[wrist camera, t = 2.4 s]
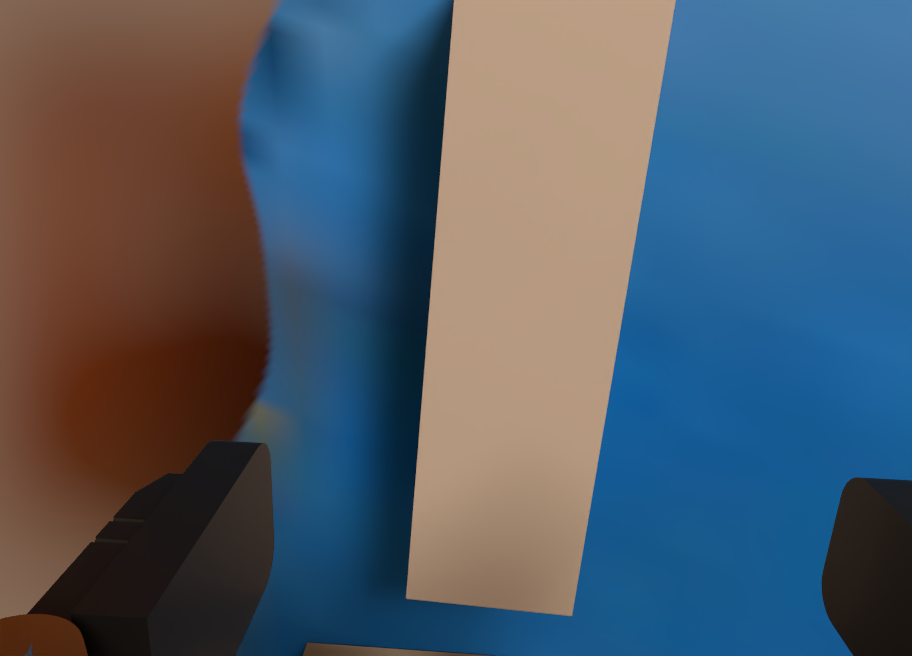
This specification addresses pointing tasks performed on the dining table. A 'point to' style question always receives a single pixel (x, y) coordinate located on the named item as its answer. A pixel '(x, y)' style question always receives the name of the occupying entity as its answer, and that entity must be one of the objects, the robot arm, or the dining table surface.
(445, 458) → the beige long block
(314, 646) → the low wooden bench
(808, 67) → the dining table surface
